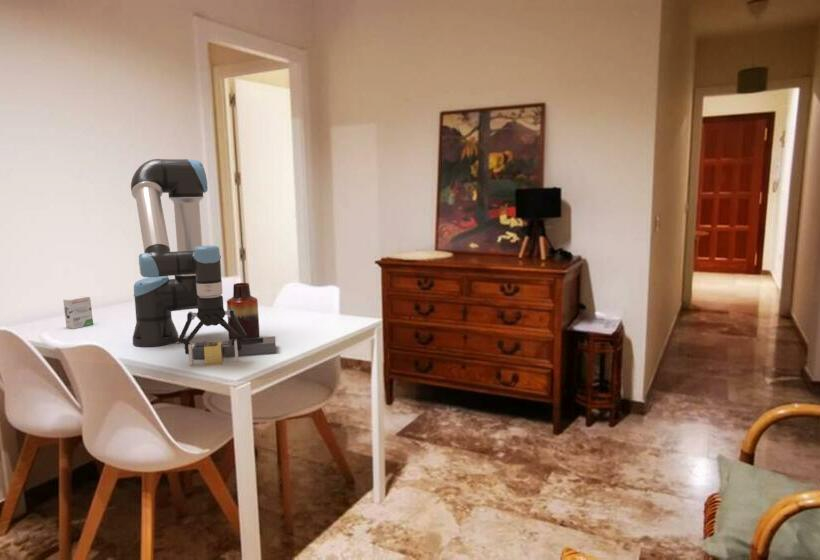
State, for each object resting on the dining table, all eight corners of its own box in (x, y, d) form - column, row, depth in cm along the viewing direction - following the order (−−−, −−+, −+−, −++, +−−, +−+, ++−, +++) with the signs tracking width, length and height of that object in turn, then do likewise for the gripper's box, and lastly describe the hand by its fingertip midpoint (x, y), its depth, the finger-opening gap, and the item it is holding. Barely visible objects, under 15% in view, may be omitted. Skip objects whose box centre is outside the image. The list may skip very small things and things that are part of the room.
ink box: (87, 323, 238) (84, 295, 236) (93, 324, 236) (91, 296, 234) (65, 327, 231) (62, 298, 229) (72, 329, 228) (69, 300, 226)
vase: (223, 339, 210) (220, 284, 207) (250, 333, 218) (247, 280, 214) (238, 344, 202) (234, 287, 199) (265, 338, 210) (262, 283, 207)
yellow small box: (205, 365, 178) (203, 345, 177) (206, 361, 183) (205, 341, 182) (222, 364, 179) (220, 343, 178) (223, 359, 184) (222, 339, 183)
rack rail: (193, 359, 185) (192, 348, 184) (196, 351, 194) (195, 341, 193) (275, 353, 191) (275, 342, 190) (275, 346, 200) (275, 336, 199)
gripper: (164, 300, 171) (170, 368, 175) (251, 295, 177) (255, 362, 180) (168, 296, 179) (174, 362, 182) (252, 291, 184) (255, 355, 188)
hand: (214, 362), depth 181 cm, fingers open, 13 cm apart
